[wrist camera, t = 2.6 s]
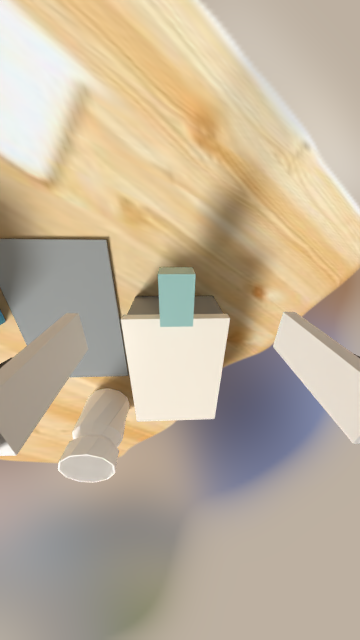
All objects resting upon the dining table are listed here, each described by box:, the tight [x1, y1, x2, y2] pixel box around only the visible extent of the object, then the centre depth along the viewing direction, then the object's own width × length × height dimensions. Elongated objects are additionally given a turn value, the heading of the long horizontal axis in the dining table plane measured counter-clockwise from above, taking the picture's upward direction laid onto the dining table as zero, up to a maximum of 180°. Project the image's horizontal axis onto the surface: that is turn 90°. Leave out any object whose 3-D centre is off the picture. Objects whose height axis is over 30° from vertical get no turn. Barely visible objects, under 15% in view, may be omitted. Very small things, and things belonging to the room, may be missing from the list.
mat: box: [0, 239, 129, 377], centre depth 29 cm, size 24×16×1 cm, turn 179°
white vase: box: [58, 388, 130, 482], centre depth 34 cm, size 9×9×12 cm
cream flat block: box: [121, 267, 230, 422], centre depth 24 cm, size 24×13×4 cm, turn 179°
